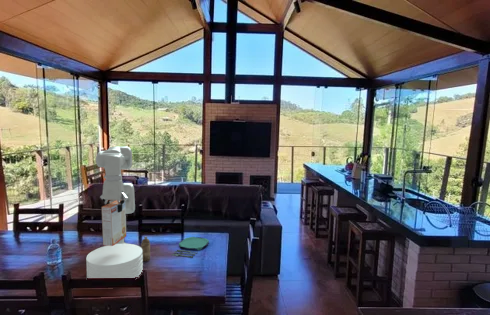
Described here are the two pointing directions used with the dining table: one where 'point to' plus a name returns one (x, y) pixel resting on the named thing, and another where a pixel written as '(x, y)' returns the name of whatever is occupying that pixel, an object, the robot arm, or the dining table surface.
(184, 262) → the dining table surface
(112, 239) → the cracker box
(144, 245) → the walnut pepper mill
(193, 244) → the cutlery set
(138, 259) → the plate stack
